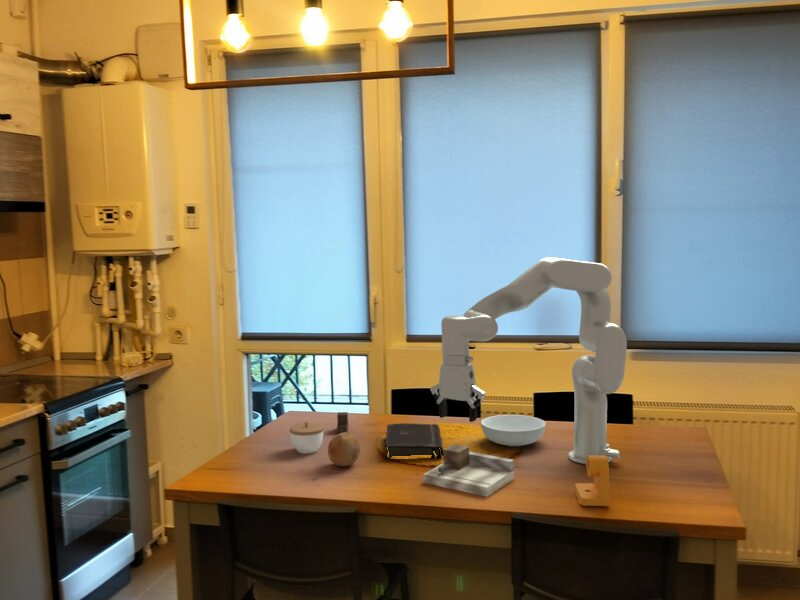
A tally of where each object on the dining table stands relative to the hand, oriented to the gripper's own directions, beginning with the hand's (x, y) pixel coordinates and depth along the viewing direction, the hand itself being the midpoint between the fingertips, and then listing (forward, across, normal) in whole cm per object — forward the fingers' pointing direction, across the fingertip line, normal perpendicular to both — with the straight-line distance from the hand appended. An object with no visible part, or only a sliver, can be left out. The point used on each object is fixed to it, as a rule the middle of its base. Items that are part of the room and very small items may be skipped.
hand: (458, 418), depth 211 cm
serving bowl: (+18, 0, -35) cm, 39 cm away
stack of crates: (+17, +55, -18) cm, 60 cm away
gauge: (+14, +1, +4) cm, 14 cm away
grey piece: (+16, -5, +4) cm, 17 cm away
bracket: (+17, -39, 0) cm, 43 cm away
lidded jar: (+16, +52, +6) cm, 55 cm away
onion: (+16, +33, +12) cm, 38 cm away
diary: (+17, +26, -14) cm, 34 cm away
